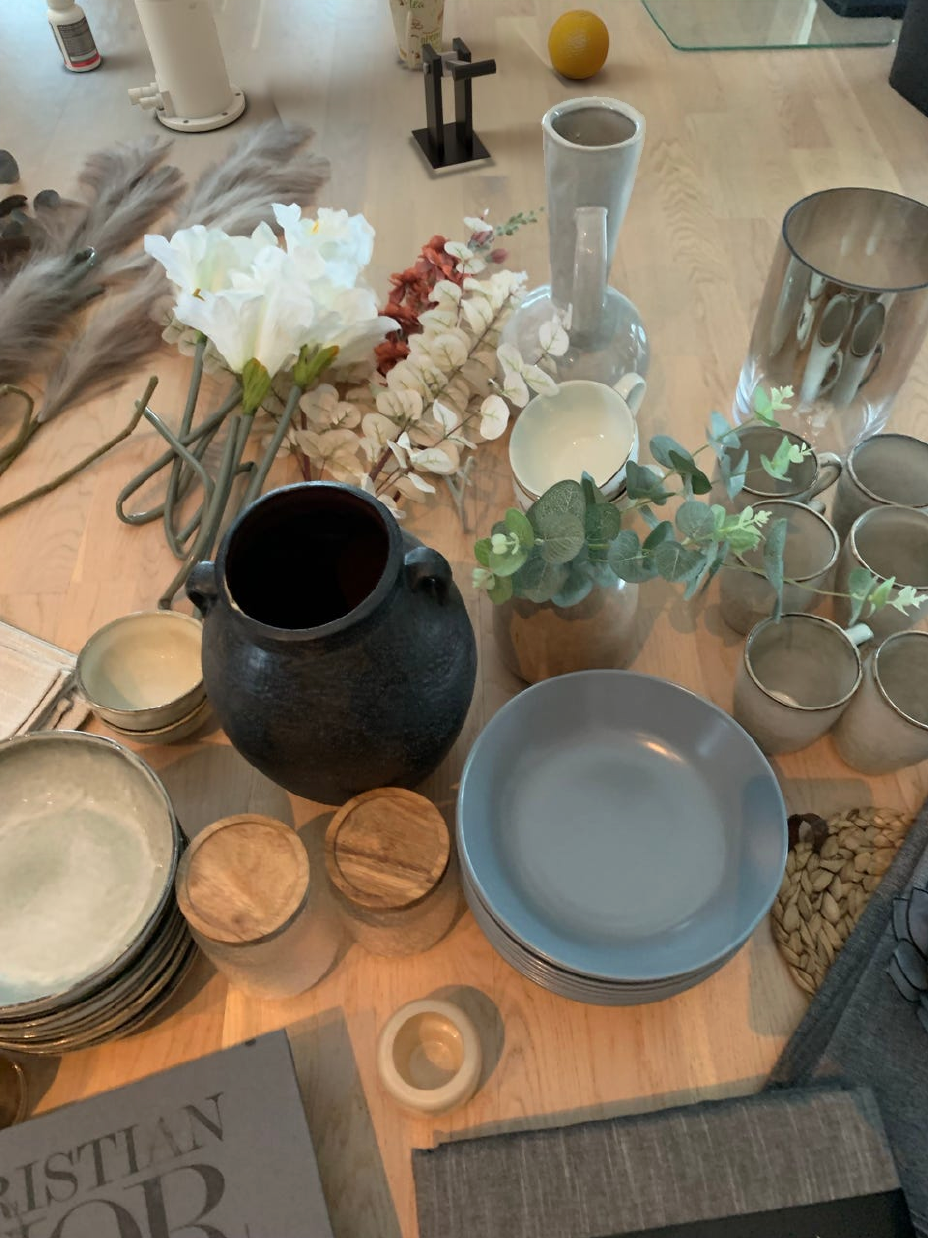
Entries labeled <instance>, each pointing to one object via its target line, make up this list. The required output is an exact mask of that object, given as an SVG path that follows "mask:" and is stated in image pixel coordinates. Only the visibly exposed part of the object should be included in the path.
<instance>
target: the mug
mask: <svg viewBox="0 0 928 1238" xmlns="http://www.w3.org/2000/svg"><path fill="white" fill-rule="evenodd" d="M445 1H446V0H388V3H389V7H390V8H389V9H390V12H391V19H392V22H393V28H394V33H395V39H396V44H397V48H398V53H399V57H400V59H401V60H403V61H404V62H407V65H408V67H409V68H414V67H415V65H416V64H423V51H422V44H427V43H430V45H431V46H432V48H433V49H434V50H435V52H436V53H441V52H442V47H443V46H442V42H443V31H444V30H443V29H444V28H443V27H444V17H445V15H444V13H445Z"/></svg>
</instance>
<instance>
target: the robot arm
mask: <svg viewBox="0 0 928 1238" xmlns="http://www.w3.org/2000/svg"><path fill="white" fill-rule="evenodd" d="M133 1H134V4H135V8H136V11H137V14H138V17H139V20H140V24H141V27H142V31H143V34H144V37H145V41H146V44H147V47H148V50H149V53H150V57H151V61H152V64H153V67H154V70H155V74H154V78H155V81H154V82H153V81H152V82H149V86H143V87H140V86H139V87H133V88H129V89H127V92H128V95H129V98H130V103H131V105H132V106H137V105H140V106H141V110H142V111H145V110H150V109H152V108H155V110H156V111H155V112H156V114H157V117H158V120H159V122H161V123H162V124H163V125H164V126H166V127H168V128H170V129H173V130H176V131H179V132H189V133H190V132H193V133H195V132H206V131H210V130H215V129H218V128H221V127H224V126H226V125H229V124H230V123H232V122H234V121H235V120H236V119H237V118H239V117H240V116H241V115H242V114H243V112H244V110H245V108H246V100H245V94H244V93H243V91H242V90H241V89H240V88H239V87H238V86H235V84H232V83H231V82H230V79H229V74H228V71H227V66H226V62H225V58H224V54H223V49H222V46H221V42H220V37H219V34H218V29H217V25H216V24H217V23H216V21H215V20H216V19H215V17H214V12H213V9H212V4H211V0H133Z"/></svg>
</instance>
